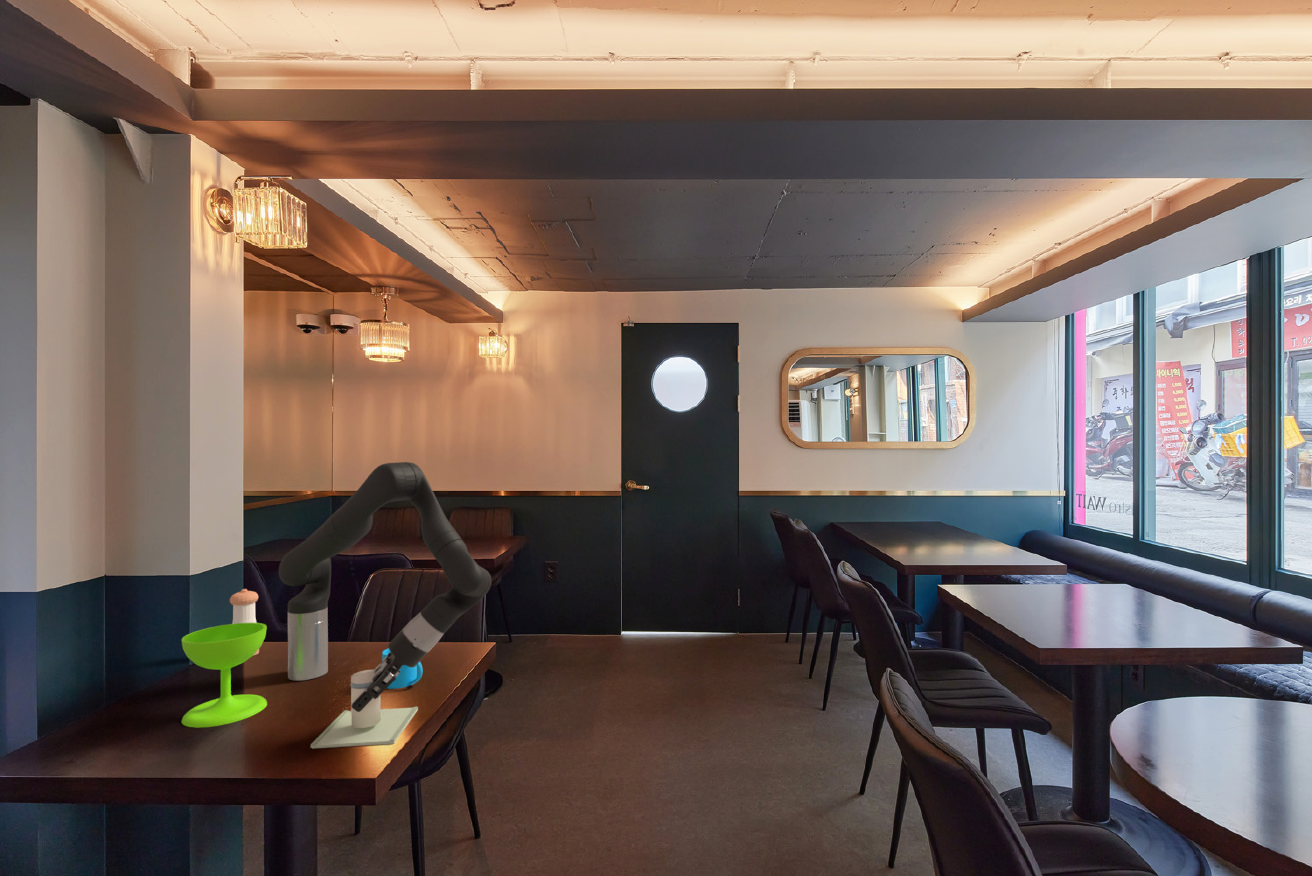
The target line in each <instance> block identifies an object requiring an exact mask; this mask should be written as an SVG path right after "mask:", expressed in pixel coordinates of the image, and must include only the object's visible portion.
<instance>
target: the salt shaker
mask: <svg viewBox="0 0 1312 876" xmlns="http://www.w3.org/2000/svg"><path fill="white" fill-rule="evenodd" d="M258 600H259V595H258V593H257V591H252V590H248V589H247V588H243V589H241V591H238V592H236V593H234V594H232V595H231V596H230V598H229V603H230V604H231V605H232V606H233V607H232V623H231V624H236V623H258V622H257V619H256V602H258ZM259 653H260V648H259V649H258V650H257V652H256V653H255V654H254V655H253V656H256V655H258V654H259ZM253 656H252V657H253Z"/></svg>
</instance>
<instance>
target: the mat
mask: <svg viewBox="0 0 1312 876" xmlns="http://www.w3.org/2000/svg"><path fill="white" fill-rule="evenodd" d="M418 710H419V707H418V706H414V707H400V708H398V707H397V708H383V709H382V708H381V721H380V722H379V723H377V724H376V725H373V726H370V727H366V728H354V727H352V725H351V710H347V709H346V710H345V709H344V710H343V711H342V713H340V714H339V715H338V717H336V718H335V719H334V720H333V721H332V722H331V724H329V725H328V726H327V727H326V728H325V729H324V731H323V732H322V733H320V734H319V735H318V737H316V738H315V740H313V742H312V743H311V744H310V749H311V748H312V749H326V748H341V747H342V748H344V747H359V746H361V747H362V746H375V745H376V746H377V745H394V744H396V741H398V738H400V736H401V735H402V733H403V732H404V730H405V729H406V727H407V726H408V725H409V723H410V722H411V720H412V719H413V718H414V716H415V715H416V713H417V712H418Z"/></svg>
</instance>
